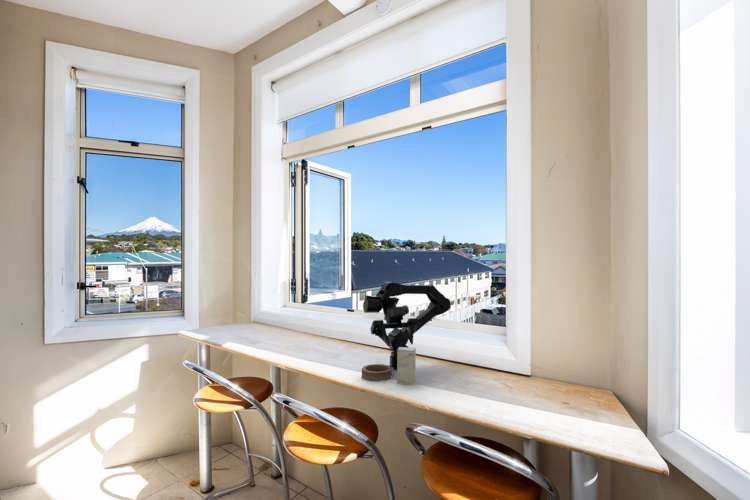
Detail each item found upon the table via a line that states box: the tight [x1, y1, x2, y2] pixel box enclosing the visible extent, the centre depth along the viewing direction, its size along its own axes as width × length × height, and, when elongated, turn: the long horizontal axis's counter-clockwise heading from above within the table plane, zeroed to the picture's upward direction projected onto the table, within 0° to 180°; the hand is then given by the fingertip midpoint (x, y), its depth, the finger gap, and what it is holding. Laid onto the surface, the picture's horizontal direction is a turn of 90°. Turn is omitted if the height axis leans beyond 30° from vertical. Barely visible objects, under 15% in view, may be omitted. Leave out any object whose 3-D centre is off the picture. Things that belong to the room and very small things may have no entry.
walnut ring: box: [361, 363, 393, 382], centre depth 139 cm, size 11×11×3 cm
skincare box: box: [396, 346, 417, 386], centre depth 132 cm, size 6×4×12 cm
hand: (400, 344), depth 137 cm, fingers open, 9 cm apart
